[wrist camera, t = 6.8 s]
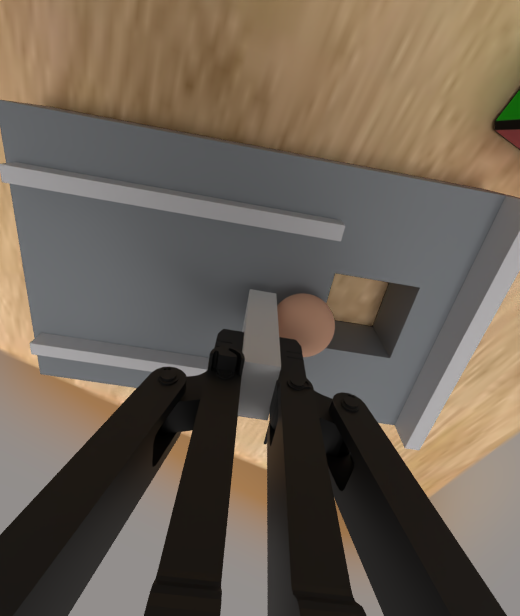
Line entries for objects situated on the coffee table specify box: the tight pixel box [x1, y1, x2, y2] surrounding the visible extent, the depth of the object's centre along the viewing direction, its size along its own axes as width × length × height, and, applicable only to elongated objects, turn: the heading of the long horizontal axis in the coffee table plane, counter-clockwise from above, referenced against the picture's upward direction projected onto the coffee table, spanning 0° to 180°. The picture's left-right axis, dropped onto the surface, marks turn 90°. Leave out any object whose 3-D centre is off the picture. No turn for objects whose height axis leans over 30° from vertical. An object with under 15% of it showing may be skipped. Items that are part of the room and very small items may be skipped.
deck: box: [0, 100, 520, 450], centre depth 21 cm, size 16×26×6 cm, turn 80°
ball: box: [277, 293, 335, 357], centre depth 18 cm, size 4×4×4 cm
